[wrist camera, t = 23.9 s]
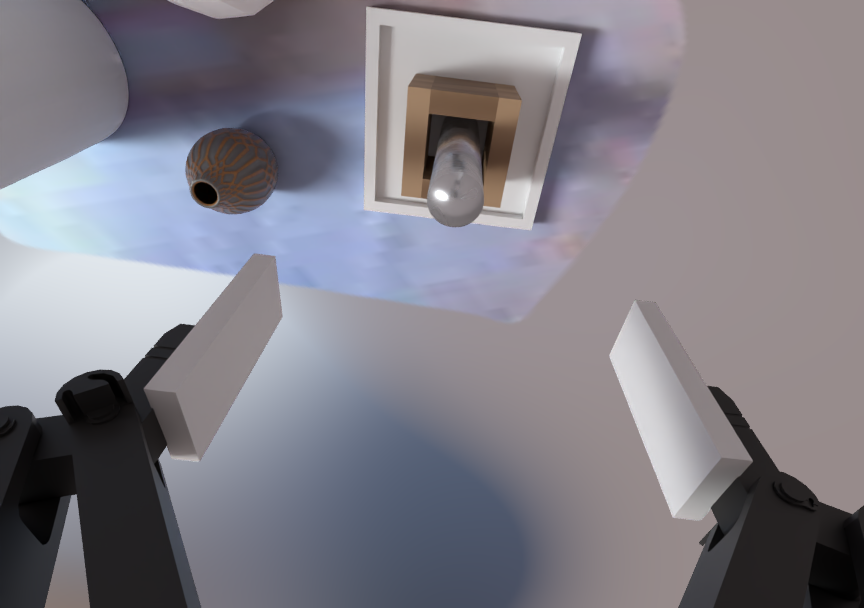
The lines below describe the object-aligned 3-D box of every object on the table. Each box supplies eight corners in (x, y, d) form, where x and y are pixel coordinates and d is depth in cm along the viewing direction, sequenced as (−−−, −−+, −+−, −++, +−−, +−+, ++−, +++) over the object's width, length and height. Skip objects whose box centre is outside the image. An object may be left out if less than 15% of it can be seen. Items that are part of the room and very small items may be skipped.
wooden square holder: (416, 73, 35) (407, 86, 30) (514, 85, 35) (522, 100, 30) (408, 171, 40) (401, 195, 35) (495, 181, 40) (500, 207, 35)
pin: (443, 108, 37) (430, 169, 24) (481, 113, 37) (488, 176, 24) (439, 146, 38) (424, 223, 25) (475, 151, 38) (478, 230, 25)
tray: (370, 6, 33) (366, 6, 32) (577, 32, 33) (582, 34, 32) (366, 203, 43) (363, 209, 41) (529, 223, 43) (531, 230, 42)
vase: (273, 207, 44) (235, 249, 36) (204, 170, 42) (151, 206, 35) (298, 147, 40) (261, 180, 33) (224, 104, 38) (168, 129, 31)
